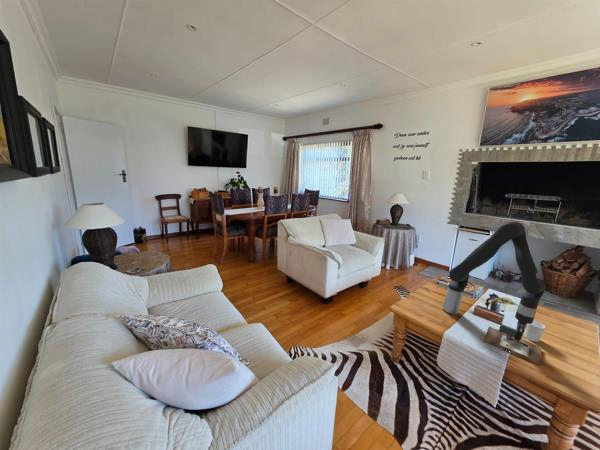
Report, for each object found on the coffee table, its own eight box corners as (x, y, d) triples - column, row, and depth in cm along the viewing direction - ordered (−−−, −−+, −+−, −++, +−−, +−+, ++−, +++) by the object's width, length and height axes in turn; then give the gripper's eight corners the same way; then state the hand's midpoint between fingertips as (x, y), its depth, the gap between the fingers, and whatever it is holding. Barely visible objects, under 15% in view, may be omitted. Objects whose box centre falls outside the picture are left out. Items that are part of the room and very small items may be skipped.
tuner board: (483, 341, 143) (484, 338, 143) (488, 328, 154) (489, 325, 154) (539, 365, 127) (540, 362, 126) (540, 350, 138) (541, 346, 138)
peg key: (497, 335, 145) (500, 325, 143) (498, 333, 147) (500, 323, 145) (527, 347, 136) (531, 337, 134) (528, 345, 138) (531, 335, 136)
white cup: (534, 343, 143) (539, 329, 140) (519, 334, 150) (524, 320, 148) (543, 341, 145) (548, 327, 143) (528, 332, 152) (533, 318, 150)
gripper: (517, 304, 143) (510, 330, 147) (515, 314, 133) (507, 341, 138) (535, 310, 138) (526, 336, 142) (534, 321, 128) (525, 348, 133)
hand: (517, 338), depth 140 cm, fingers closed on peg key, 2 cm apart
